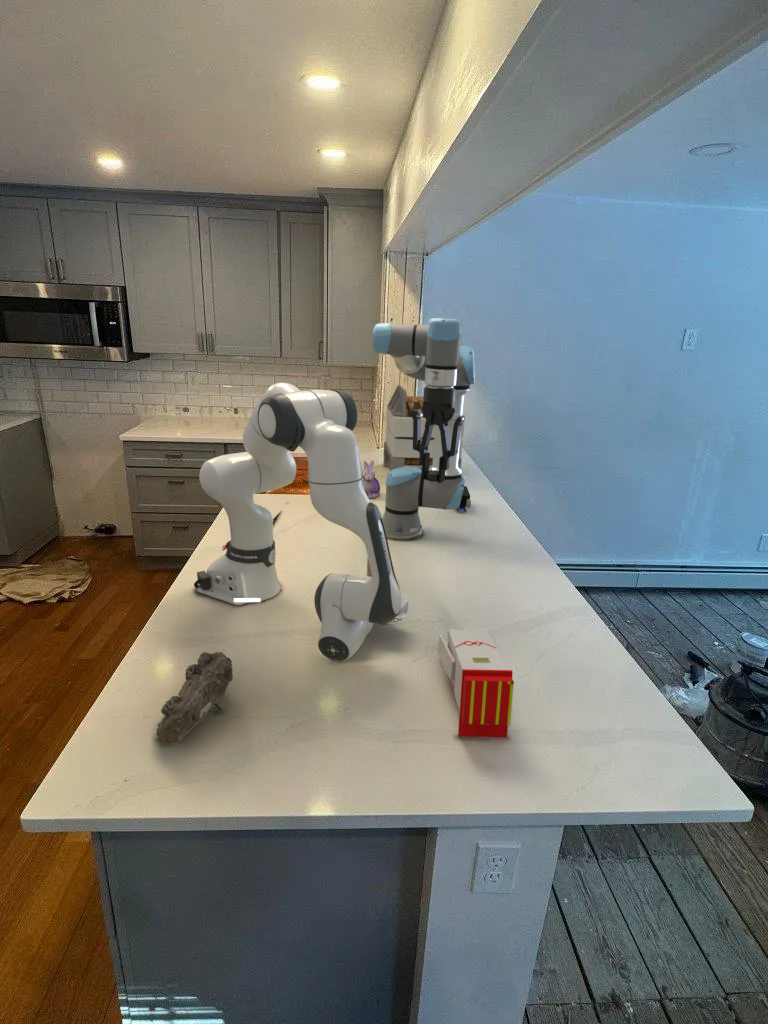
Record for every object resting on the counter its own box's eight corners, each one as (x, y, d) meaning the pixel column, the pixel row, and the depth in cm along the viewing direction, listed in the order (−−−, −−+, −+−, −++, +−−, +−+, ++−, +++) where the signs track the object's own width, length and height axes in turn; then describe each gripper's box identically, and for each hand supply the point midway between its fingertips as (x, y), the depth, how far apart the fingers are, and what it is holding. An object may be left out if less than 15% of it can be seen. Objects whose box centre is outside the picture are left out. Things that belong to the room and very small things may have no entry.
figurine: (365, 500, 232) (366, 464, 227) (354, 493, 241) (355, 458, 236) (385, 497, 237) (387, 463, 231) (374, 490, 245) (375, 457, 240)
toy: (488, 613, 130) (523, 677, 101) (484, 667, 133) (517, 744, 104) (435, 612, 130) (455, 676, 101) (432, 666, 133) (451, 743, 103)
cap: (434, 476, 146) (434, 469, 146) (443, 480, 143) (444, 473, 143) (421, 478, 144) (422, 471, 143) (431, 482, 141) (432, 475, 140)
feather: (288, 505, 226) (290, 501, 226) (271, 529, 199) (273, 524, 199) (284, 503, 226) (287, 499, 225) (266, 526, 199) (269, 522, 199)
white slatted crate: (382, 463, 289) (386, 382, 275) (445, 464, 293) (451, 384, 279) (390, 482, 257) (394, 392, 243) (460, 483, 261) (468, 394, 247)
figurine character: (470, 516, 223) (465, 500, 237) (473, 499, 220) (467, 484, 233) (453, 516, 223) (449, 500, 236) (455, 498, 220) (451, 483, 233)
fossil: (183, 653, 120) (233, 621, 115) (215, 683, 122) (265, 653, 117) (132, 735, 100) (190, 701, 95) (171, 768, 103) (229, 737, 98)
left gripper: (401, 610, 130) (415, 584, 142) (318, 595, 135) (339, 571, 148) (399, 634, 132) (414, 606, 144) (318, 618, 137) (339, 592, 150)
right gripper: (401, 384, 136) (396, 477, 144) (467, 392, 129) (458, 489, 137) (414, 381, 142) (409, 471, 150) (478, 388, 135) (469, 482, 143)
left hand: (375, 588), depth 146 cm, fingers closed on bottle, 4 cm apart
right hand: (432, 479), depth 144 cm, fingers closed on cap, 4 cm apart
